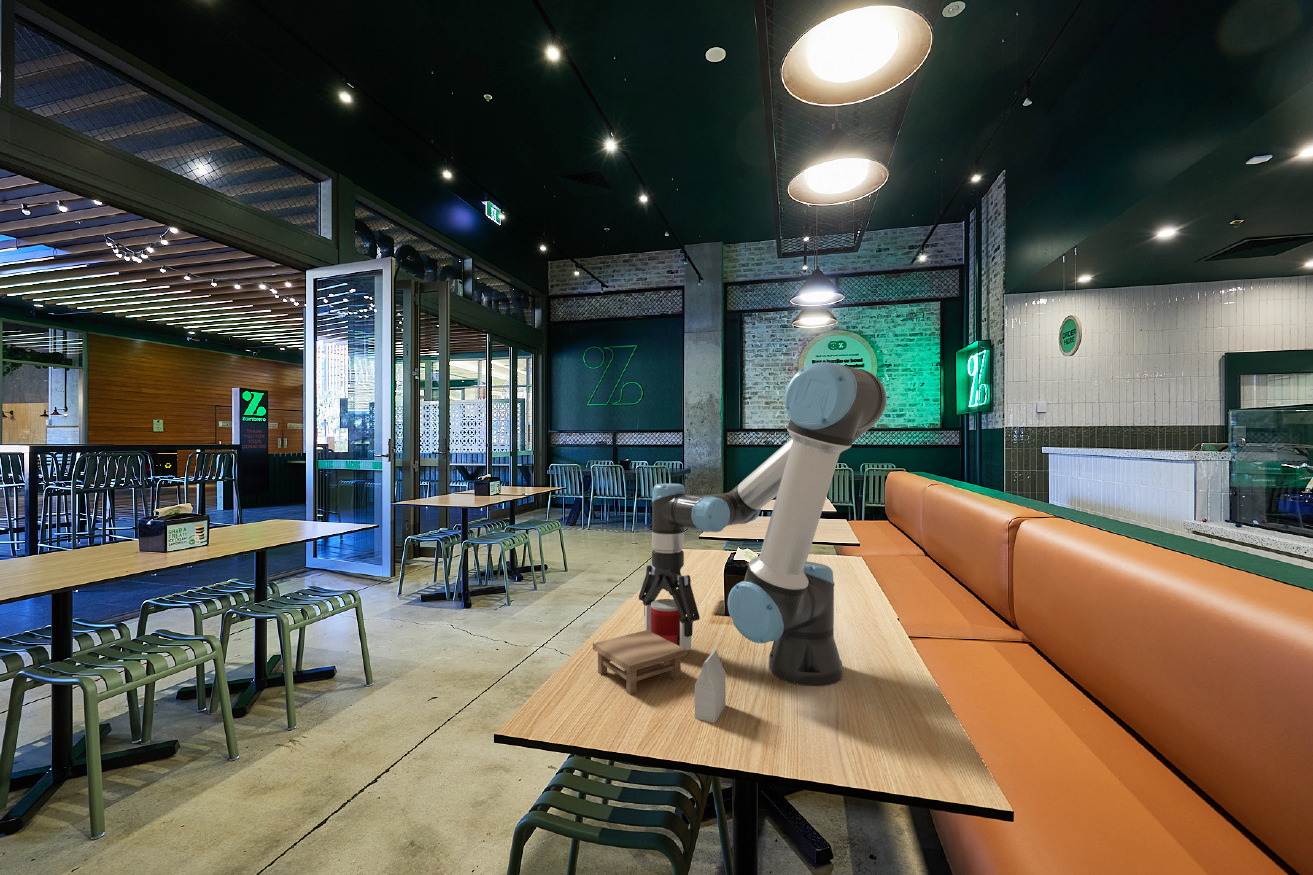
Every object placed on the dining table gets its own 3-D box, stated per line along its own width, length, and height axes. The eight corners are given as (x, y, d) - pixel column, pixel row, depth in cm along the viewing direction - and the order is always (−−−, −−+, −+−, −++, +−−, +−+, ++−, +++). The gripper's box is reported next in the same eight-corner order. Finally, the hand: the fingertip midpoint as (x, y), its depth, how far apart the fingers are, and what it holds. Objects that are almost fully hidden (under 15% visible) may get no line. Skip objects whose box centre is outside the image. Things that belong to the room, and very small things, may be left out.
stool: (686, 678, 109) (686, 649, 109) (629, 697, 100) (629, 665, 101) (646, 656, 120) (646, 629, 120) (592, 671, 112) (592, 643, 112)
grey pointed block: (725, 705, 98) (725, 651, 98) (714, 723, 92) (714, 665, 92) (706, 701, 99) (706, 648, 99) (694, 718, 93) (694, 661, 93)
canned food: (685, 657, 120) (685, 608, 120) (650, 656, 120) (650, 608, 120) (684, 644, 127) (684, 598, 127) (651, 644, 127) (651, 598, 128)
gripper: (716, 557, 116) (715, 654, 116) (649, 539, 136) (649, 622, 136) (689, 561, 112) (688, 662, 112) (625, 542, 132) (624, 628, 132)
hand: (666, 640), depth 124 cm, fingers open, 13 cm apart
